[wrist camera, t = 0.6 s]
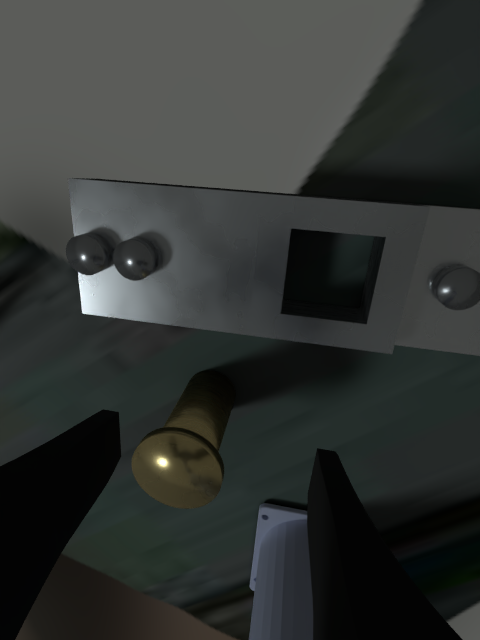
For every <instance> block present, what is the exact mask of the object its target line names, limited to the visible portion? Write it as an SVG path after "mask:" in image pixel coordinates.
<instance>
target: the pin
mask: <svg viewBox="0 0 480 640" xmlns="http://www.w3.org/2000/svg"><path fill="white" fill-rule="evenodd" d="M235 396H236V393H235V388H234V386H233V384H232V382H231V381H230V380H229V379H228V378H227V377H226V376H225V375H223V374H221V373H219V372H216V371H201V372H199V373H197V374H195V375H194V376H193V377H192V378H191V380H190V381H189V383H188V385H187V386H186V388H185V390H184V392H183V393H182V395H181V397H180V399H179V401H178V402H177V404H176V406H175V408H174V409H173V411H172V413H171V415H170V416H169V418H168V420H167V422H166V423H165V425H164V427H163V428H159V429H156V430H154V431H152V432H150V433H148V434H147V435H146V436H145V437H144V438H143V439H142V441H141V442H140V444H139V445H138V447H137V449H136V450H135V452H134V454H133V457H132V470H133V474H134V476H135V479H136V480H137V482H138V484H139V485H140V486H141V488H142V489H143V490H144V491H145V492H146V493H147V494H149V495H150V496H151V497H153V498H154V499H156V500H157V501H159V502H161V503H163V504H166V505H169V506H172V507H176V508H185V509H189V508H197V507H201V506H204V505H206V504H208V503H209V502H211V501H212V500H213V499H214V498H215V497H216V496H217V494H218V493H219V491H220V488H221V484H222V481H223V477H224V464H223V461H222V458H221V456H220V454H219V452H218V451H219V448H220V445H221V442H222V439H223V435H224V432H225V429H226V426H227V423H228V420H229V416H230V413H231V410H232V407H233V404H234V400H235Z"/></svg>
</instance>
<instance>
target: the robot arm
mask: <svg viewBox="0 0 480 640" xmlns="http://www.w3.org/2000/svg"><path fill="white" fill-rule="evenodd" d="M120 457H121V445H120V427H119V412H114V411H109V410H101V411H100V412H98V413H96V414H94V415H92V416H91V417H89V418H87V419H86V420H84V421H82V422H81V423H79V424H77V425H76V426H74V427H72V428H71V429H69V430H67V431H66V432H64V433H62V434H60V435H59V436H57V437H55V438H54V439H52V440H50V441H48V442H47V443H45V444H43V445H41V446H39V447H37V448H35V449H33V450H32V451H30V452H28V453H26V454H24V455H22V456H20V457H19V458H17V459H15V460H13V461H10V462H8V463H6V464H4V465H2V466H0V640H15V639H16V637H17V635H18V633H19V631H20V629H21V627H22V625H23V623H24V620H25V619H26V617H27V615H28V613H29V611H30V609H31V607H32V605H33V604H34V601H35V600H36V598H37V596H38V594H39V592H40V590H41V588H42V586H43V585H44V583H45V581H46V579H47V577H48V575H49V574H50V572H51V570H52V568H53V567H54V565H55V563H56V561H57V559H58V558H59V556H60V554H61V552H62V551H63V549H64V548H65V546H66V544H67V543H68V541H69V540H70V538H71V537H72V535H73V534H74V532H75V531H76V529H77V528H78V526H79V525H80V523H81V522H82V520H83V519H84V517H85V516H86V514H87V513H88V512H89V510H90V509H91V507H92V506H93V504H94V503H95V501H96V500H97V498H98V497H99V495H100V494H101V492H102V491H103V489H104V488H105V486H106V484H107V483H108V481H109V479H110V477H111V475H112V474H113V472H114V470H115V468H116V466H117V464H118V461H119V459H120ZM250 588H251V590H253V591H255V593H254V601H253V610H252V618H251V627H250V635H249V640H462V639H461V638H460V636H459V635H458V634H457V633H456V632H455V631H454V630H453V629H452V628H451V627H450V625H449V624H448V623H447V622H446V621H445V620H444V619H443V618H442V616H441V615H440V614H439V613H438V612H437V610H436V609H435V608H434V607H433V606H432V604H431V603H430V602H429V601H428V600H427V598H426V597H425V596H424V595H423V594H422V592H421V591H420V590H419V589H418V587H417V586H416V585H415V584H414V582H413V581H412V580H411V578H410V577H409V576H408V574H407V573H406V572H405V570H404V569H403V568H402V566H401V565H400V564H399V562H398V561H397V559H396V558H395V557H394V555H393V554H392V552H391V551H390V549H389V548H388V546H387V545H386V543H385V542H384V540H383V539H382V537H381V536H380V534H379V532H378V531H377V529H376V528H375V526H374V524H373V523H372V521H371V519H370V518H369V516H368V514H367V513H366V511H365V509H364V507H363V505H362V504H361V502H360V500H359V498H358V496H357V494H356V492H355V491H354V489H353V487H352V485H351V483H350V481H349V478H348V476H347V474H346V472H345V470H344V468H343V466H342V463H341V461H340V459H339V456H338V454H337V453H336V452H335V451H329V450H324V449H318V448H317V452H316V457H315V462H314V466H313V471H312V476H311V481H310V486H309V490H308V506H307V511H305V510H299V509H294V508H289V507H284V506H279V505H273V504H268V503H263V504H261V505H260V507H259V514H258V523H257V531H256V539H255V547H254V555H253V563H252V572H251V580H250Z"/></svg>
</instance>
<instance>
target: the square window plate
mask: <svg viewBox="0 0 480 640" xmlns="http://www.w3.org/2000/svg"><path fill="white" fill-rule="evenodd" d="M265 193H271V192H265ZM274 194H283V193H274ZM287 195H297V194H287ZM299 196H310V195H299ZM312 197H323V196H312ZM325 198H336V197H325ZM338 199H349V198H338ZM350 200H362V199H350ZM363 201H374V200H363ZM376 202H387V201H376ZM389 203H400V202H389ZM401 204H413V203H401ZM414 205H424V206H429V207H430V210H429V214H428V218H427V222H426V226H425V229H424V233H423V237H422V241H421V245H420V249H419V253H418V256H417V260H416V264H415V268H414V272H413V276H412V279H411V283H410V287H409V291H408V295H407V299H406V303H405V306H404V310H403V314H402V318H401V322H400V326H399V330H398V333H397V337H396V341H395V345H400V346H407V347H415V348H423V349H431V350H439V351H446V352H454V353H462V354H470V355H478V356H480V209H477V208H464V207H451V206H438V205H426V204H414ZM291 230H292V229H291ZM290 238H291V235H290ZM379 238H380V236H374V241H373V246H372V251H371V255H370V260H369V265H368V270H367V274H366V279H365V284H364V289H363V294H362V298H361V303H360V308H354V307H345V306H337V305H328V304H320V303H311V302H303V301H294V300H285V299H283V302H282V306H285V307H293V308H302V309H310V310H319V311H327V312H335V313H344V314H352V315H361V316H363V313H364V308H365V304H366V299H367V294H368V290H369V285H370V280H371V276H372V271H373V266H374V262H375V257H376V252H377V248H378V243H379ZM289 246H290V243H289ZM288 255H289V252H288ZM287 263H288V260H287ZM286 271H287V268H286ZM285 280H286V277H285ZM284 288H285V285H284ZM283 296H284V293H283Z"/></svg>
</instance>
